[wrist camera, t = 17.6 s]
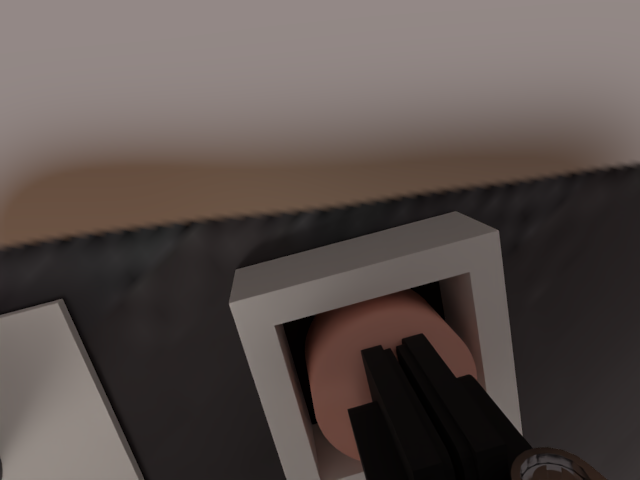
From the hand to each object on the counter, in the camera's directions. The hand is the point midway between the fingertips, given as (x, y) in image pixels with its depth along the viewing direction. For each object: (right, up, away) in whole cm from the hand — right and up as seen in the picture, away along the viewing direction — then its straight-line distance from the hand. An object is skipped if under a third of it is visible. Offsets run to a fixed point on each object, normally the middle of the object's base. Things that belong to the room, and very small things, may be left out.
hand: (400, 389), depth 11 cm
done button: (0, +1, +2) cm, 3 cm away
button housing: (0, +1, +3) cm, 3 cm away
